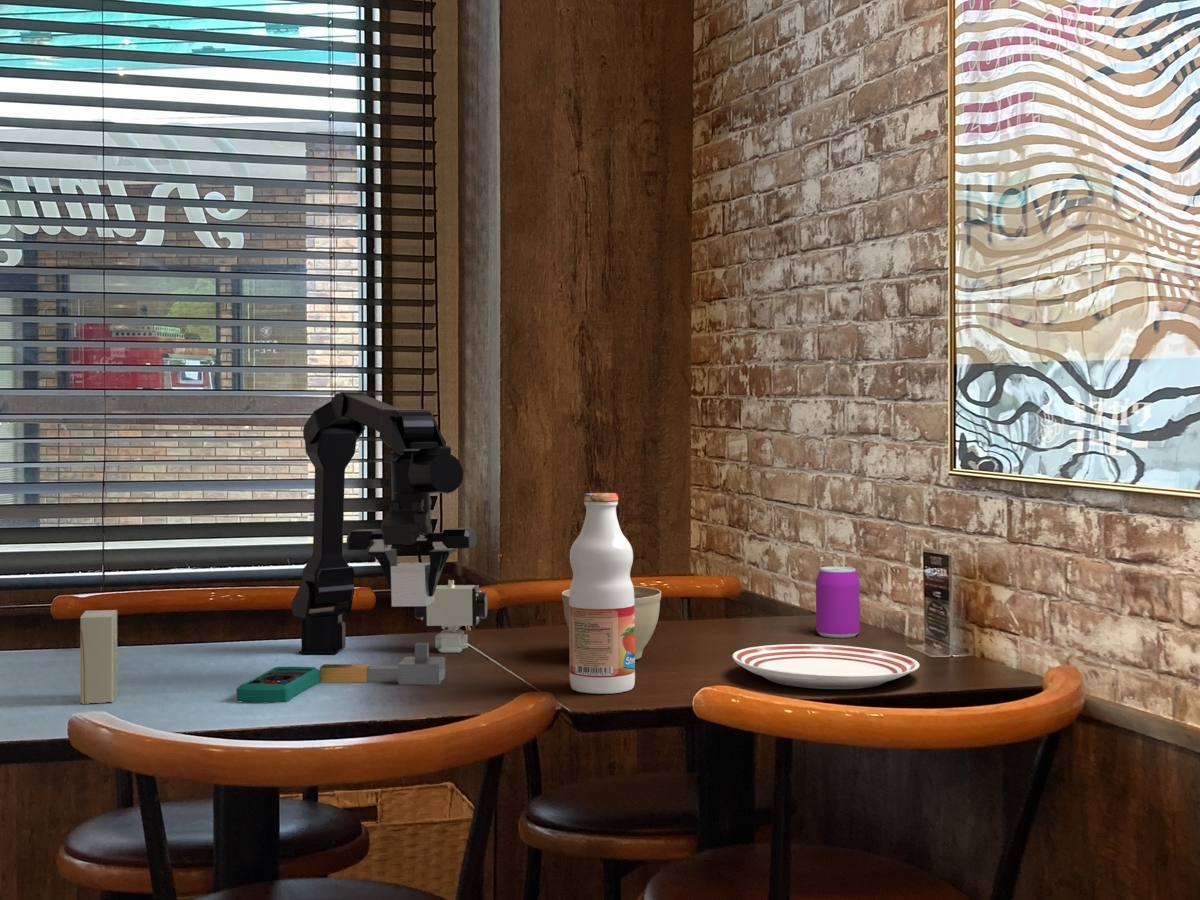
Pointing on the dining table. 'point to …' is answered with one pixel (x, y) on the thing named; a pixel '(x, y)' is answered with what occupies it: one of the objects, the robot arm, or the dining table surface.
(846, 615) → the beverage can
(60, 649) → the dining table surface
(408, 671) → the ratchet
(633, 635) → the fruit juice
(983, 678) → the dining table surface
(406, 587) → the plain white cube
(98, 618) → the skincare box
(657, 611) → the planter bowl
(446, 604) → the pneumatic valve
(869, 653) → the dinner plate
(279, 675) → the digital multimeter
